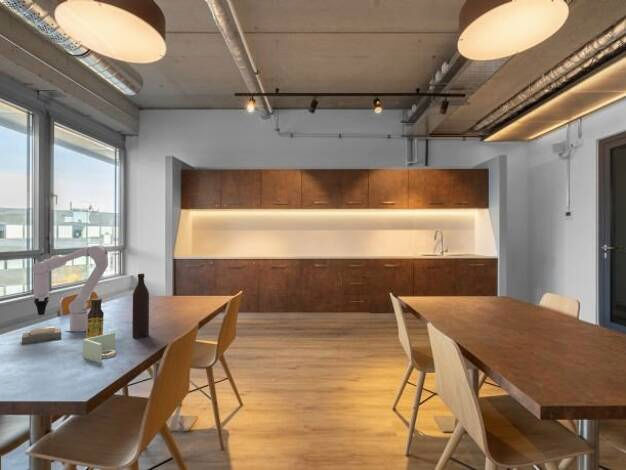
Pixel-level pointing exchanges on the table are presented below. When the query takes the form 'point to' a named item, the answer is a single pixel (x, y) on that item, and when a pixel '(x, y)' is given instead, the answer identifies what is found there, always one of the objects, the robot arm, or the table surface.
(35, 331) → the clip
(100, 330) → the sauce bottle
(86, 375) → the table surface
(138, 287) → the wine bottle
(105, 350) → the l-shaped corner panel
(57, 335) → the grey slotted block
